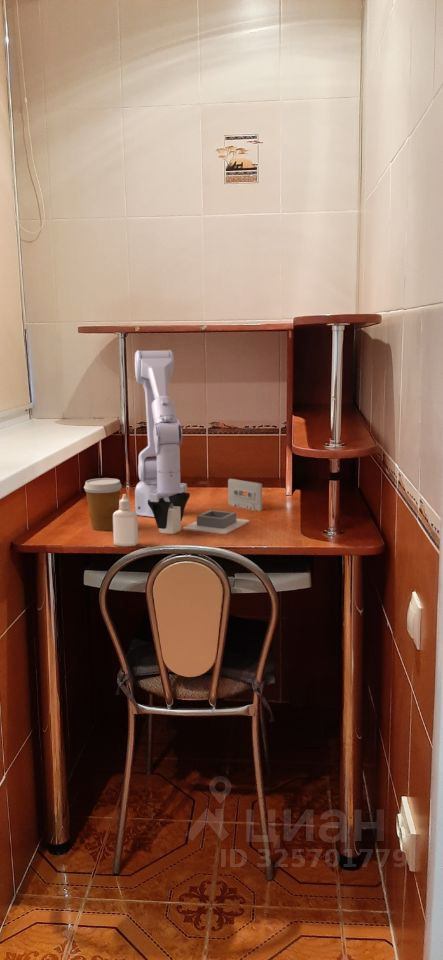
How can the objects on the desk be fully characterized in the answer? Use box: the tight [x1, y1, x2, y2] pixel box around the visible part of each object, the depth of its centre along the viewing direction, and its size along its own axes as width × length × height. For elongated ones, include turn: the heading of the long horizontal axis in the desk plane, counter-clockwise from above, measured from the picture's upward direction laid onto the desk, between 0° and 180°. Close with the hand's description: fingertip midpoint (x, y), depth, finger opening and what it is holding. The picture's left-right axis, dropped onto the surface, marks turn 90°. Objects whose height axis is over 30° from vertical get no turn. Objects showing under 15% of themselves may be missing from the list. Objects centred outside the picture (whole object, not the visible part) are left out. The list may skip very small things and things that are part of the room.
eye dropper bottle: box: [112, 493, 139, 547], centre depth 180 cm, size 4×6×12 cm
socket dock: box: [182, 509, 251, 535], centre depth 197 cm, size 12×14×3 cm
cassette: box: [227, 478, 263, 512], centre depth 216 cm, size 12×2×8 cm, turn 47°
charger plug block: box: [158, 503, 182, 535], centre depth 192 cm, size 4×4×7 cm
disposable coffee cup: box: [83, 477, 123, 531], centre depth 196 cm, size 10×10×12 cm
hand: (169, 524), depth 192 cm, fingers open, 7 cm apart
